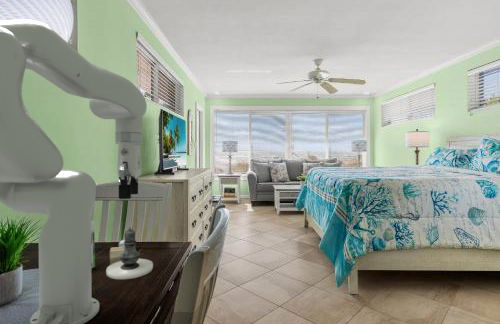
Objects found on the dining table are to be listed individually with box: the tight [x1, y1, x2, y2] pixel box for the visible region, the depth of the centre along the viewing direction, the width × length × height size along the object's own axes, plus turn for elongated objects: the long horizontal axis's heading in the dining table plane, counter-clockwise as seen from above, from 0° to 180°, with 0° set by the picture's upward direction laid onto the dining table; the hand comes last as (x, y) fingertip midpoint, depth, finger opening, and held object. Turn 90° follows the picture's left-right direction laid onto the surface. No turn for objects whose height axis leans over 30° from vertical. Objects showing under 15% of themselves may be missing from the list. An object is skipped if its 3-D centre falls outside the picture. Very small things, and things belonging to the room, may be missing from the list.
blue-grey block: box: [118, 239, 125, 250], centre depth 103 cm, size 4×4×4 cm
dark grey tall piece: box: [119, 226, 141, 270], centre depth 87 cm, size 6×6×12 cm
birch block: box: [109, 246, 124, 265], centre depth 95 cm, size 4×4×4 cm
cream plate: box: [105, 258, 154, 280], centre depth 88 cm, size 13×13×1 cm
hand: (128, 196), depth 87 cm, fingers open, 9 cm apart
